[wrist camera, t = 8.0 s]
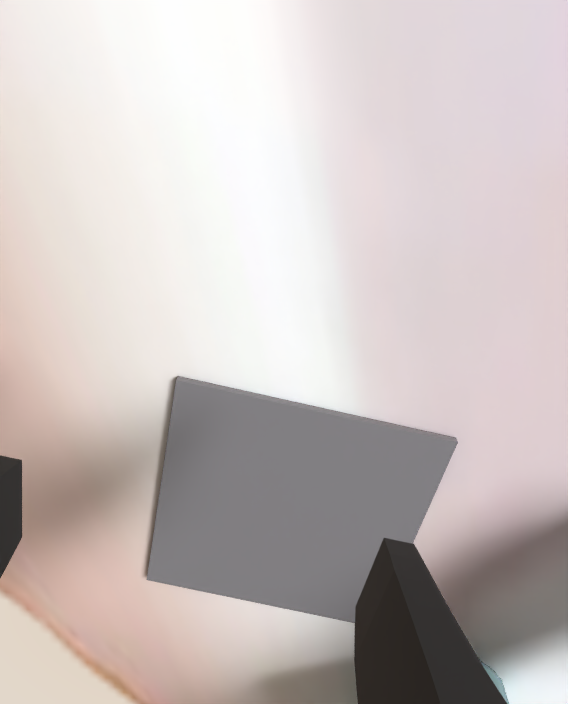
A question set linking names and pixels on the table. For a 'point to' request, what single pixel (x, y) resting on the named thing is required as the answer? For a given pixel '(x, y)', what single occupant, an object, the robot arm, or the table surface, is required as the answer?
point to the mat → (285, 497)
